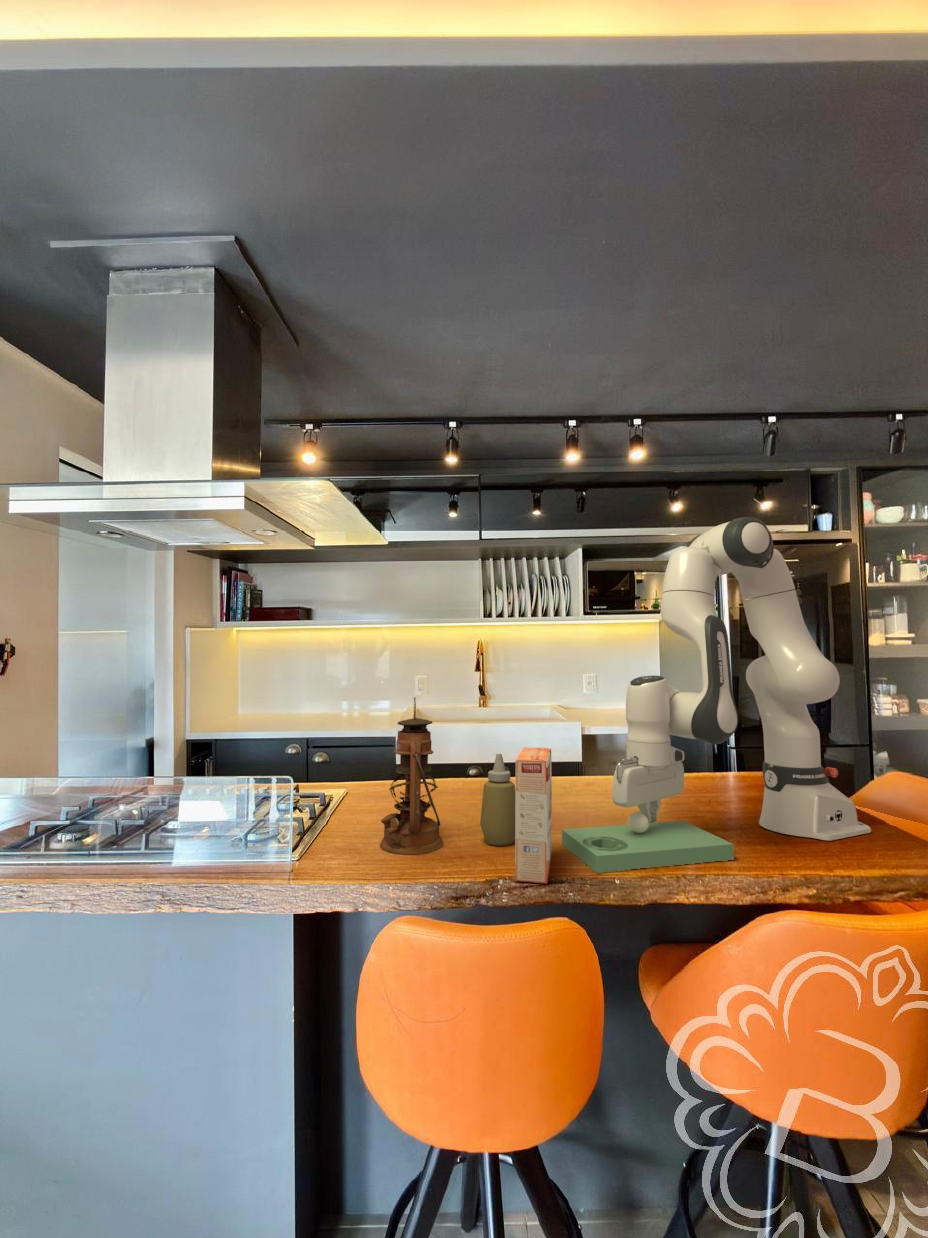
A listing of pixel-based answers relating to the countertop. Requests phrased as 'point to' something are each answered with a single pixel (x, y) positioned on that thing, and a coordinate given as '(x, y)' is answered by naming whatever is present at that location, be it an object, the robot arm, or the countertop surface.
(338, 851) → the countertop surface
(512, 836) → the squeeze bottle
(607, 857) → the putting board
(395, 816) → the lantern
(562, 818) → the countertop surface
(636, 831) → the ball
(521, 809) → the cracker box
